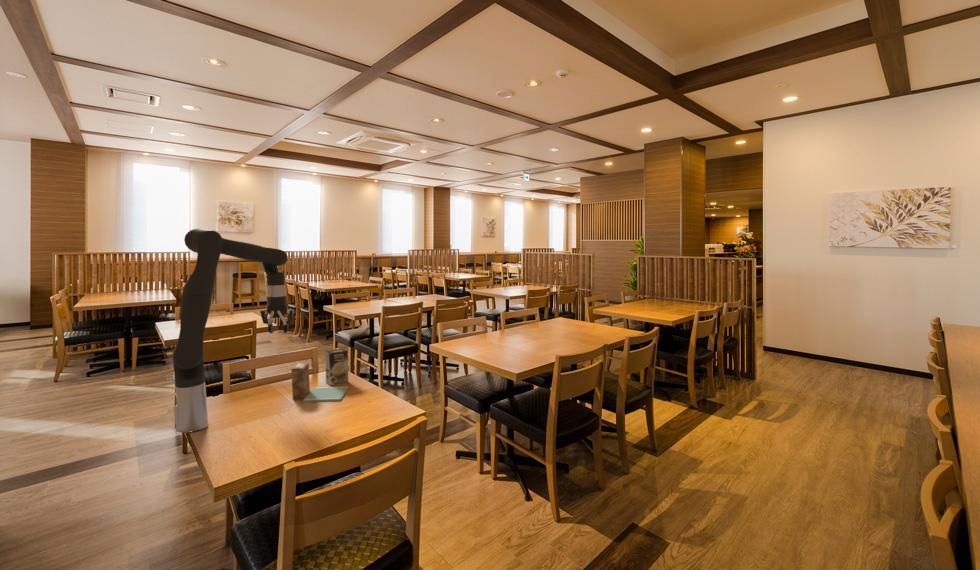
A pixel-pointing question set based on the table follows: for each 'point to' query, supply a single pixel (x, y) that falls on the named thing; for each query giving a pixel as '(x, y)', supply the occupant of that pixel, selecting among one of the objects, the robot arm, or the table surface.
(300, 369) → the walnut block
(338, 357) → the coffee box
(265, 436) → the table surface
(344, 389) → the mat
